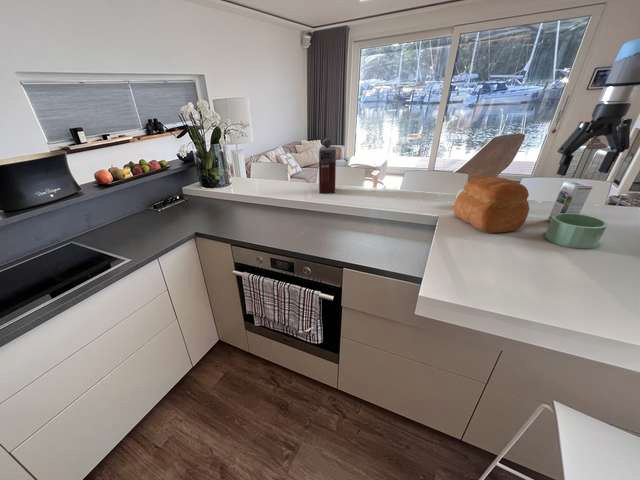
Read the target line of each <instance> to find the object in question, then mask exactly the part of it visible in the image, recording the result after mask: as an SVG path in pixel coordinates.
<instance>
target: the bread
mask: <svg viewBox="0 0 640 480" xmlns="http://www.w3.org/2000/svg"><path fill="white" fill-rule="evenodd" d="M463 188H464V190H463V191H462V192H461V193H460V194H459V196H458V197H457V199H456V201H455V200H454V204H453V214H454V215H455V216H456V217H457V218H459V219H460V220H463V221H464V222H465V223H468V224H470V225H471V226H472V227H473V228H476V229H478V230H479V231H482V232H485V233H491V234H492V233H493V234H496V233H509V232H513V231H518V230H520V229H521V228H523V226H524V225H525V223H526V221H527V218H528V215H529V212H530V206H529V201H528V198H529V196H530V194H529V190H528V188H527V187H526V186H525V185H524V184H522V183H518V182H516V181H514V180H511V179H508V178H505V177H499V176H496V175H482V176H481V175H479V176H476V177H474V178H472V179H470V180H469V181H467V182H466V184H465V185H463Z"/></svg>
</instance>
